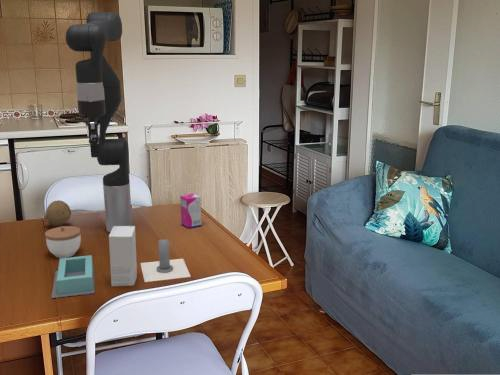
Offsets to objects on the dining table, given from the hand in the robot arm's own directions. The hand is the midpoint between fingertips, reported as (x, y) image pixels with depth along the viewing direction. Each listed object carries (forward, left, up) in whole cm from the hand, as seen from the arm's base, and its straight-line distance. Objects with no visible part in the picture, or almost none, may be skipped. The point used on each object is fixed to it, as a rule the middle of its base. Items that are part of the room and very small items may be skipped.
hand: (95, 154), depth 155 cm
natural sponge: (-39, -15, -34) cm, 54 cm away
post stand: (+13, +17, -34) cm, 40 cm away
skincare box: (+17, +6, -34) cm, 39 cm away
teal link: (+13, -8, -34) cm, 37 cm away
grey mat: (+13, -8, -34) cm, 37 cm away
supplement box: (-27, +32, -34) cm, 54 cm away
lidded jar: (-10, -12, -34) cm, 37 cm away
